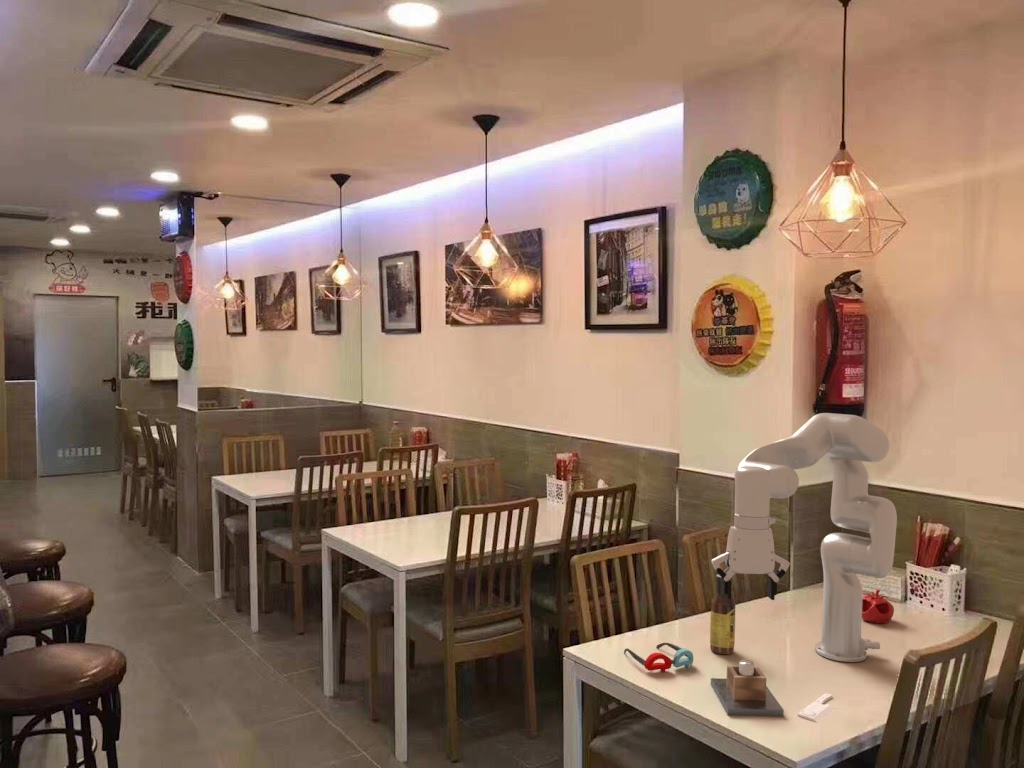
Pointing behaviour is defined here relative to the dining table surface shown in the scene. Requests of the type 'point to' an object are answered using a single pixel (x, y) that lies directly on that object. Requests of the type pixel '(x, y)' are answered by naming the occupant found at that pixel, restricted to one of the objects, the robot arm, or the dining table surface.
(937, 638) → the dining table surface
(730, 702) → the post stand
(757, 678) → the wooden box
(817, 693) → the dining table surface
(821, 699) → the butcher knife
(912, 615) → the dining table surface
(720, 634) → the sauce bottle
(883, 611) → the red tomato container
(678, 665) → the novelty glasses
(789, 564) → the robot arm
